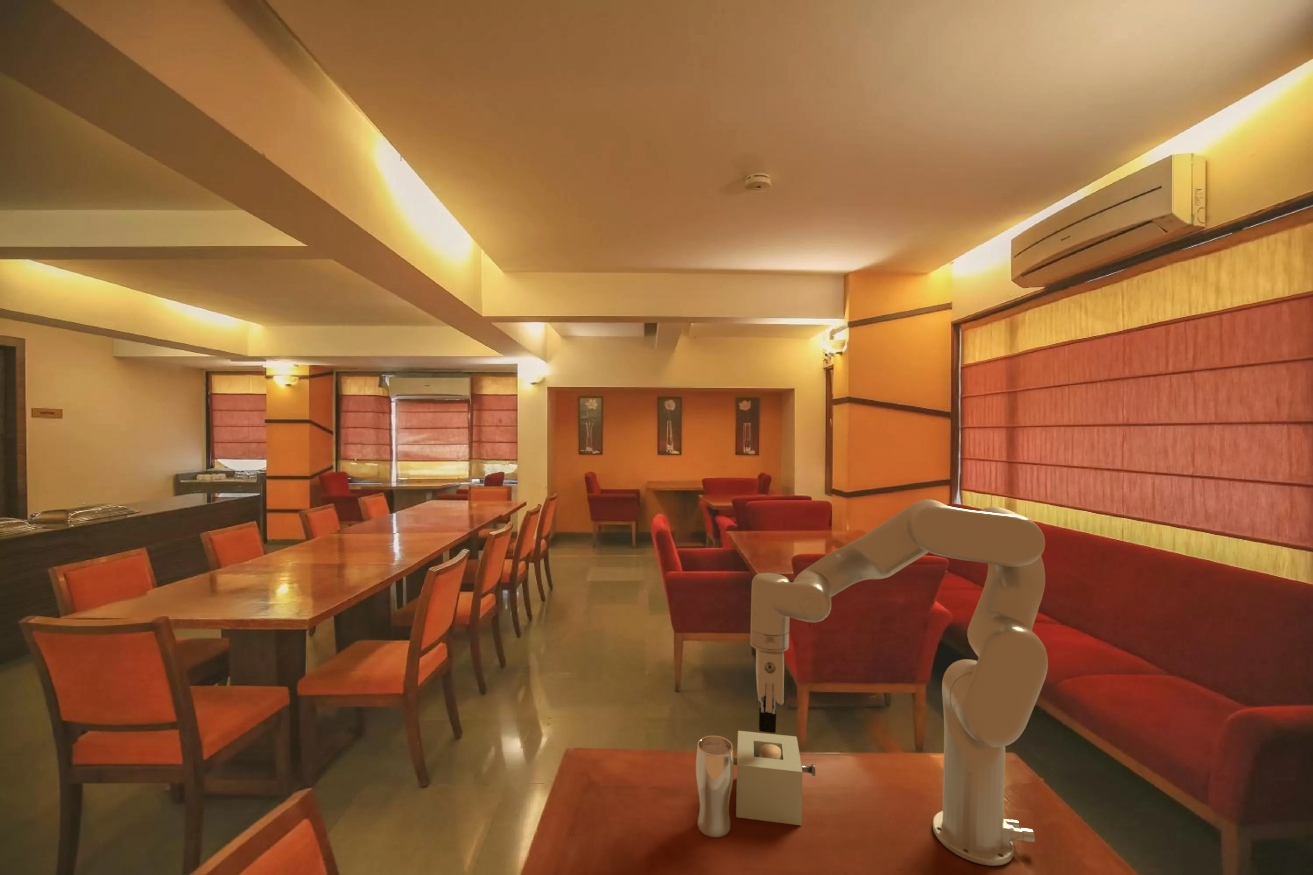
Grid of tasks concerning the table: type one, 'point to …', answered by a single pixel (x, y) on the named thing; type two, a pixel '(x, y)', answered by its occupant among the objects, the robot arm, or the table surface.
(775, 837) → the table surface
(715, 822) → the beer glass
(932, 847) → the table surface
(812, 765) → the plunger
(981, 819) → the robot arm
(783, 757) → the socket
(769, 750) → the peg
